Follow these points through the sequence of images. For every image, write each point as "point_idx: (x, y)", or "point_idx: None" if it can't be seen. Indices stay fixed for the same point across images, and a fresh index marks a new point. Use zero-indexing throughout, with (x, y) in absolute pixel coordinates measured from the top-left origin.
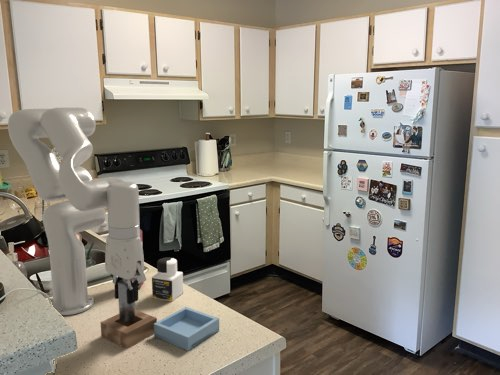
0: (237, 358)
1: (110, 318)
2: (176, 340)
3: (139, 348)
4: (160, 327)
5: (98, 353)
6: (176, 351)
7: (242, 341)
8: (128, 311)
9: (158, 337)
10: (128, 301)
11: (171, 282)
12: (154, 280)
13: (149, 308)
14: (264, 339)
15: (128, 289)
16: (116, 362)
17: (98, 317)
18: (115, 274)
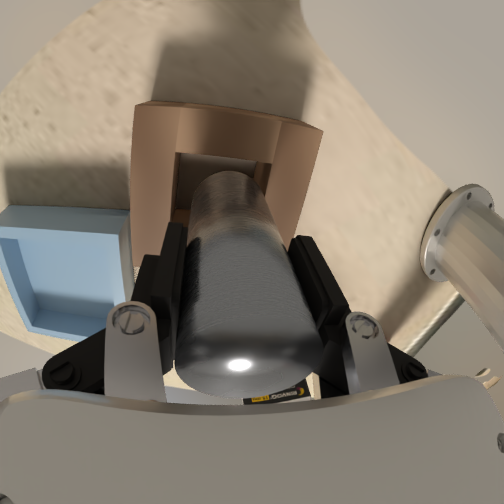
0: None
1: (304, 176)
2: (34, 214)
3: (114, 126)
4: (85, 229)
5: (227, 29)
6: (24, 184)
7: None
8: (196, 207)
9: (110, 210)
10: (167, 230)
11: (244, 404)
12: (299, 392)
13: None
14: None
15: (155, 301)
16: (124, 26)
17: (381, 218)
18: (344, 419)
